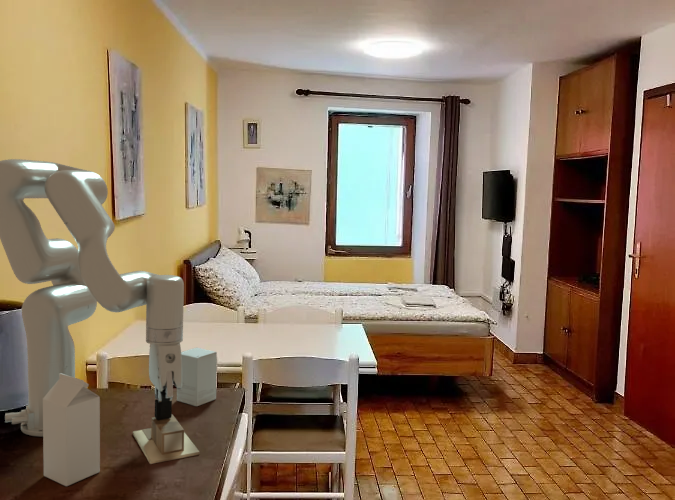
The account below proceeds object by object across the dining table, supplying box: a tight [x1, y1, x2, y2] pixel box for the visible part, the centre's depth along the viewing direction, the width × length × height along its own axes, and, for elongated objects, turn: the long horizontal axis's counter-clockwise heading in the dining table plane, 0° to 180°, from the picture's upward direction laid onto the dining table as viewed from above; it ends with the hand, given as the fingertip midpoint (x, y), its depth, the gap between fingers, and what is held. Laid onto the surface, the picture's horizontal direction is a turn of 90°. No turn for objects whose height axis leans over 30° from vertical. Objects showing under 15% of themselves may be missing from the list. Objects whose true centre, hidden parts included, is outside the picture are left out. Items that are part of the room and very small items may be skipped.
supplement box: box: [176, 347, 218, 407], centre depth 155 cm, size 7×7×13 cm
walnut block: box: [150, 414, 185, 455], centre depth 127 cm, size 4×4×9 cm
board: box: [132, 427, 201, 465], centre depth 129 cm, size 10×16×1 cm, turn 30°
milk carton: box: [42, 373, 101, 487], centre depth 113 cm, size 7×7×19 cm
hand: (163, 417), depth 129 cm, fingers closed
